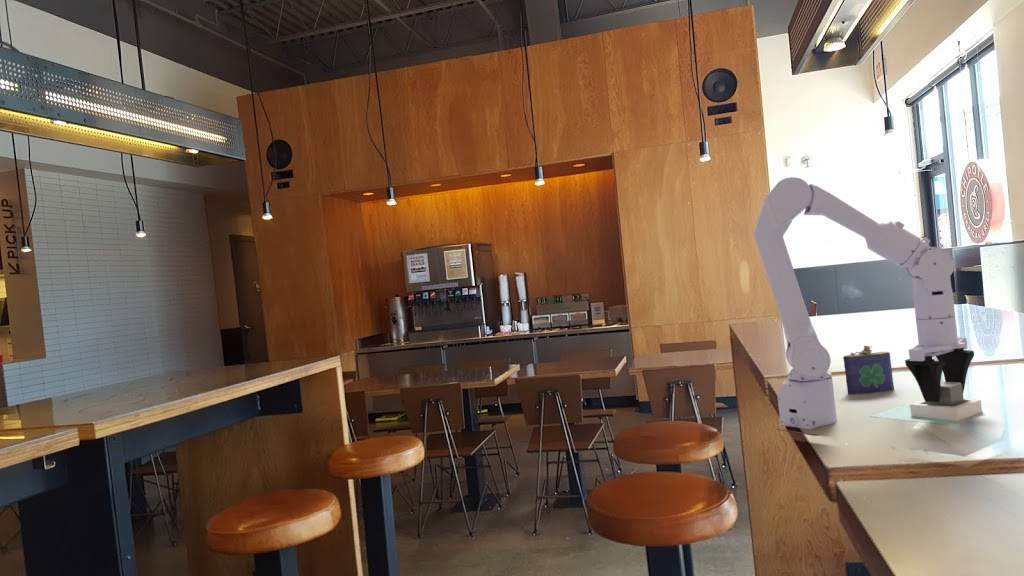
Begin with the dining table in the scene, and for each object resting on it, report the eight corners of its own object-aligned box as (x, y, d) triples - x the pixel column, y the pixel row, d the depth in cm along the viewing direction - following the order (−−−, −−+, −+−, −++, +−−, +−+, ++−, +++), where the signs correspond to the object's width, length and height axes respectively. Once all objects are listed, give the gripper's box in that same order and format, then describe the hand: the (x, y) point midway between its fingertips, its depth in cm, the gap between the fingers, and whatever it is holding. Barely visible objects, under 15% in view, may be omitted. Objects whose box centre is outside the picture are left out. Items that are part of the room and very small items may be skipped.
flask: (891, 393, 143) (885, 342, 143) (898, 395, 140) (892, 343, 140) (846, 398, 143) (840, 347, 143) (852, 401, 140) (846, 348, 140)
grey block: (952, 416, 114) (949, 386, 114) (927, 414, 117) (924, 385, 117) (965, 412, 116) (961, 382, 116) (940, 409, 119) (936, 381, 119)
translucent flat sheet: (948, 432, 110) (948, 424, 110) (870, 423, 121) (869, 416, 121) (983, 418, 116) (982, 411, 116) (905, 411, 127) (905, 404, 127)
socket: (958, 420, 112) (957, 408, 112) (911, 415, 118) (909, 404, 118) (982, 411, 115) (980, 399, 115) (935, 407, 122) (933, 396, 122)
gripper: (936, 322, 110) (946, 407, 110) (982, 311, 117) (991, 391, 117) (893, 323, 116) (902, 403, 116) (939, 312, 123) (947, 388, 123)
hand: (944, 397), depth 117 cm, fingers open, 7 cm apart
